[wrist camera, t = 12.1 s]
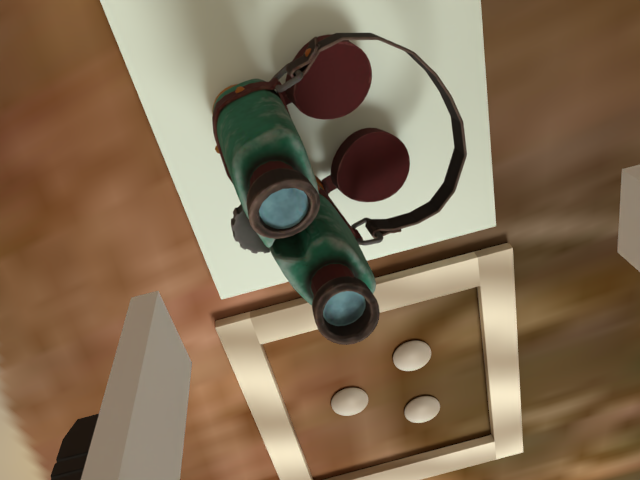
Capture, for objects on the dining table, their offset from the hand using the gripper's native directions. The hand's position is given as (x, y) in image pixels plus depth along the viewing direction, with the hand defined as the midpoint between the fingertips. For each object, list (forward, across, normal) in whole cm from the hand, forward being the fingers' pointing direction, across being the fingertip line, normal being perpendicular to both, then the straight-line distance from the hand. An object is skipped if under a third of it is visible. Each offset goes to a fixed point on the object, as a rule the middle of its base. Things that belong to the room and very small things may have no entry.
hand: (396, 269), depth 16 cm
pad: (+13, 0, -1) cm, 13 cm away
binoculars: (+12, 0, 0) cm, 12 cm away
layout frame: (+13, 0, +18) cm, 23 cm away
